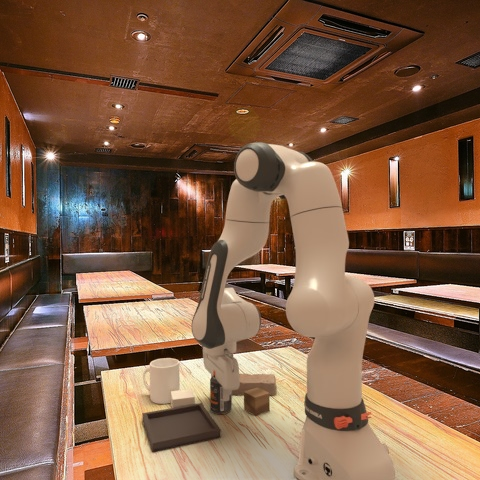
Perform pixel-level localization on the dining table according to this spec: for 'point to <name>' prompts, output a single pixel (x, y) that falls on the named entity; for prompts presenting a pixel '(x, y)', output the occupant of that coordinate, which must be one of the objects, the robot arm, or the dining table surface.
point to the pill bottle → (218, 398)
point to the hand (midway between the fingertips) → (220, 394)
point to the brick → (256, 383)
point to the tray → (179, 426)
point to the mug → (163, 379)
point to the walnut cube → (256, 401)
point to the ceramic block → (182, 398)
